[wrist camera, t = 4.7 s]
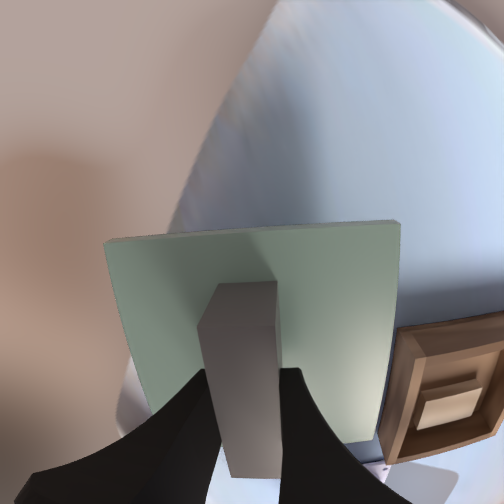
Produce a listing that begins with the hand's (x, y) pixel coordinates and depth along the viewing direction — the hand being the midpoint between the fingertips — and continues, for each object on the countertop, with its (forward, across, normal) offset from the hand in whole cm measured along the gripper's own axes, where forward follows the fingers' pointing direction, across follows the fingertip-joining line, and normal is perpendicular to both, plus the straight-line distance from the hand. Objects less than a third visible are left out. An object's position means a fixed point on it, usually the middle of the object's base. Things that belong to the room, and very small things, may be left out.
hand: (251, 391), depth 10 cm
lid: (+4, 0, 0) cm, 4 cm away
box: (+8, -13, +8) cm, 17 cm away
